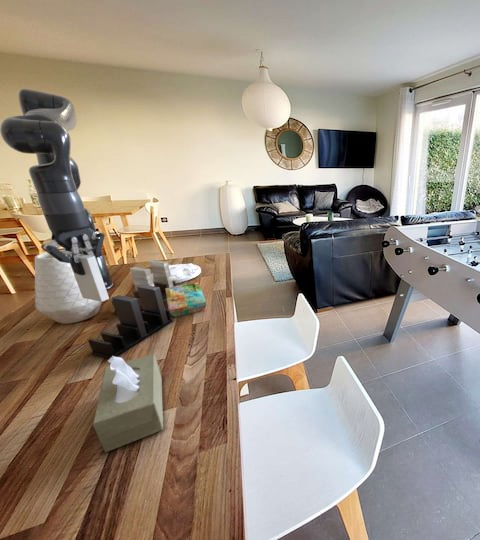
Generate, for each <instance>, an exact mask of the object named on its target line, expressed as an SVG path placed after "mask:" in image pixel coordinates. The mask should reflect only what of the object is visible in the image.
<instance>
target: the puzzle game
mask: <svg viewBox="0 0 480 540" xmlns="http://www.w3.org/2000/svg"><path fill="white" fill-rule="evenodd" d="M165 290H166V297H167V298H166V303H167V309H169V312H170V316H173V317H175V318H177V317H181V316H186V315H190V314H194V313H198V312H203V311H204V309H205V308H206V306H207V301H206V298H205V297H204V293H203V292H202V289H201V287H200V283H199V282H198V281H196V282H192V283H191V282H190V283H185V284H180V285H176V286H175V287H170V288H165Z"/></svg>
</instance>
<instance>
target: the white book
mask: <svg viewBox="0 0 480 540" xmlns="http://www.w3.org/2000/svg"><path fill="white" fill-rule="evenodd" d="M79 258H80V262H81V263H82V265H83V268H84V271H85V275H78V274H76V273H74V271H73V268H72V266H71V268H72V271H73V273H74V276H75V279H76V281H77V284H78V286H79V289H80V292H81V294H82V297H83V298H86V299H91V300H95V301H100V302H102V303H103V302H106V301H107V300H109V299H110V297H109V293H108V290H106V288H105V285H104V282H103V279H102V276H101V273H100V270H99V267H98V264H97V261H96V258H95V256H90V255H85V254H79ZM70 265H71V263H70Z"/></svg>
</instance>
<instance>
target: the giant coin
mask: <svg viewBox="0 0 480 540" xmlns="http://www.w3.org/2000/svg"><path fill="white" fill-rule="evenodd" d="M168 265H169V269H170V273H171V278H172V281H175V282H176V285H177V284H182V282H186V281H189V280H192V279H194V278H196V277H198V276H199V275H200V274H201V272H202V270H201V269H202V268H201V267H200V266H199V265H197V264H194V263H192V262H191V263H190V262H189V263H179V264H168ZM151 276H152V279H153V282H154V278H153V274H152V273H151Z"/></svg>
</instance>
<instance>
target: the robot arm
mask: <svg viewBox="0 0 480 540" xmlns="http://www.w3.org/2000/svg"><path fill="white" fill-rule="evenodd" d="M18 102H19V103H18V104H19V107H20V110H21V113H22V114H21V115H15V116H14V115H13V116H9V117H7V118H5V119H3V121H2V123H1V124H0V136H1V138H2V140H3V141H4V143H5V144H6V145H7V146H8V147H9V148H11V149H12V150H14V151H17V152H19V153H22V154H28V155H29V154H31V155H32V154H33V155H36V160H37V163H38V164H36V165H32V166H30V167H29V169H28V173H29V176H30V179H31V181H32V184H33V186H34V189H35V191H36V195H37V199H38V203H39V207H40V208H41V211H42V214H43V216H44V219H45V221H46V224H47V227H48V230H49V231H50V232H51V238H50V239H51V240H50V241H49V242H47V243H46V244H45V243H43V244H42V245H41V246H40V248H41V249H42V250H43V251H45V253H46V252H48V253H49V254H50V255H52V256H53V257H54V258H56V259H57V260H59V261H60V262H66V263H71V266H72V268H73V271H74V273H76V274H78V275H85V271H84V268H83V265H82V263H81V262H80V258H79V254H85V255H90V256H95V258H96V261H97V264H98V267H99V270H100V273H101V276H102V279H103V282H104V285H105V288H106V291H108V290H109V289H111V288H112V287H114V283H113V280H112V277H111V273H110V271H109V267H108V265H107V261H106V258H105V255H104V251H103V245H104V241H105V237H106V234H105V233H103V232H97V230H96V225H95V221H94V217H93V216H92V213H91V212H90V211H89V210H88V209H87V208H85V206H84V202H83V200H82V197H81V195H80V194H79V191H78V190H79V189H80V187H81V183H82V180H81V175H80V170H79V165H78V164H77V163H76V161H75V160H74V158H72V157H71V149H72V141H71V139H72V138H71V135H70V133H69V132H70V131H73V130H74V129H75V128H76V126H77V114H76V113H77V112H76V109H75V107H74V104H73V103H72V101H70V99H68V98H67V97H64V96H61V95H58V94H53V93H48V92H44V91H39V90H34V89H30V88H21V89H20V90H19V92H18ZM59 246H61V247H62V250H64V252H65V253H66V255H67V256H66V255H65V254H63V253H62V252H61V251H59V250H60V247H59Z"/></svg>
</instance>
